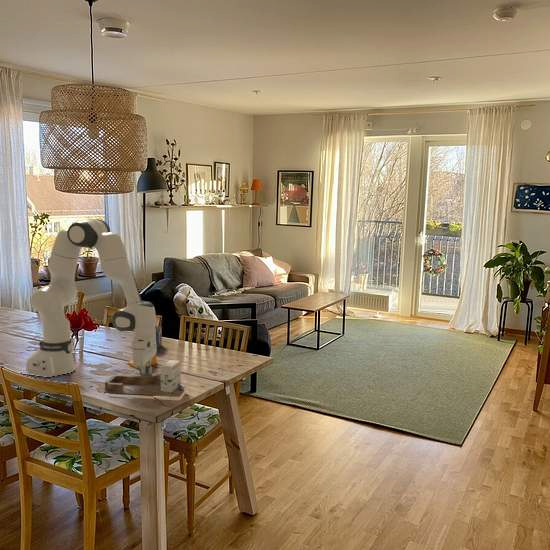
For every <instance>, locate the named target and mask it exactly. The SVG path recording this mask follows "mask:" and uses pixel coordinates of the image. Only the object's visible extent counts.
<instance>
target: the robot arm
mask: <svg viewBox="0 0 550 550" xmlns="http://www.w3.org/2000/svg"><path fill="white" fill-rule="evenodd" d="M124 245H125V244H124V243H123V240H122V238H121V236H120V234H118V233H116V232H111V228H110V225H109V224H108V223H107V222H106V221H105V220H102V219H99V218H97V219H93V218H88V219H84V220H77V221H75V222H73V223H71V225H70V226H69V227H68V228H63V229H60V230H59V232H58V233H57V234H56V238H55V239H54V243H53V246H52V248H51V249H52V250H51V252H50V258H49V261H48V266H47V270H48V272H49V275H50V282H49V284H48V285H45V286H42V287H40V288H39V289H38V290H37V289H36V291H35V292H33V293H32V295H31V298H30V303H31V306H32V307H33V309H34V310H35V311H36V312H37V313H38V315H39V317H40V321H41V325H42V340H41V341H39V343H37V347H39V349H38V350H36V351H34V353H32V354H31V355H30V356H28V357H27V359H26V364H25V367H26V370H25V371H24V373H25V372H26V371H28V372H27V373H29V374H34V375H39V376H46V377H51V378H53V377H52V376H55V377H58V376H57V375H61V376H63V375H62V374H66V375H68V374H67V373H69V374H72V373H73V371H74V370H75V368H76V366H75V364H74V360H73V354H72V353H73V343H72V342H73V341H72V338H71V322H70V320H69V319H68V318H67V317H66V314H65V312H64V311H65V310H64V308H65V307H67V306H69V305H70V304H72V303H73V302H74V301H75V300H76V298H77V297H78V289H77V286H76V282H75V281H76V279H75V277H76V272H77V271H76V270H77V267H78V262H79V258H80V253H81V250H82V248H87V249H88V248H89V249H93V248H95V250H96V251H97V253H98V257H99V263H100V267H101V271H102V273H103V275H104V276H105V277H106V278H107V279H108V280H111V281H113V282H116V283H117V284H119V285H120V287H121V288H122V290H123V295H124V297H125V301H126V306H125V307H123V308H120V309H118V310H117V311H115V312H114V313H113V315H112V318H111V319H112V320H111V322H112V325H113V327H114V329H116V331H119V332H130V331H131V332H132V331H133V332H134V333H133V334H134V337H133V339H132V342H131V345H130V346H131V349H132V361H133V365H134V367H133V368H135V367H140V368H141V373H143V374H145V373H146V368H145V366H146V363H147V362H149V366H151V365H150V364H151V358H152V357H153V356H154V355H155V356H156V355H157V351H158V350H157V347H156V330H155V326H156V323H157V315H156V308H155V306H154V304H153V303H152V302H151V301H146V300H142V296H141V294H140V291H139V288H138V283H137V281H136V278H135V275H134V273H133V271H132V269H131V267H130V264H129V260H128V255H127V252H126V248H125V246H124ZM140 368H139V369H140ZM75 371H76V370H75ZM75 371H74V372H75ZM21 372H23V371H21V370H20V373H21ZM71 372H72V373H71Z"/></svg>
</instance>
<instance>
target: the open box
mask: <svg viewBox="0 0 550 550" xmlns="http://www.w3.org/2000/svg"><path fill="white" fill-rule="evenodd" d="M124 384H137V385H139V384H140V385H155V386H161V376H154V377H151V376H138V375H132V374H131V375H129V374H113V375H112V376H111V377H109V378H108V379H107V380H106V381H105V383H104V389H105V390H107V391H104V392H103V394H105V393H109V394H108V395H121V396H122V395H125V396H126V395H127V396H144V397H148V396H149V397H154V396H155V394H144V393H142V394H141V393H129V392H128V393H126V392H125V393H123V392H124Z"/></svg>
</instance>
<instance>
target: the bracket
mask: <svg viewBox="0 0 550 550" xmlns="http://www.w3.org/2000/svg"><path fill="white" fill-rule="evenodd" d="M157 363H158V360H157V357H156V354H155V355H154V356H153V357H152V358H151V364H150V366H153V365H154V364H157ZM128 366H130V367H132V368H136V369H140V367H134V365H133V360H129V361H128Z"/></svg>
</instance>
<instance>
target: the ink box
mask: <svg viewBox="0 0 550 550" xmlns="http://www.w3.org/2000/svg"><path fill="white" fill-rule="evenodd" d="M159 367H160V377H161V385H160V392H165V393H167V392H168V393H172V392H174V391H175V390H176V389H178V388H179V387H181V360H176V359H175V360H174V359H173V360H172V359H169V360H168V361H166V362H164V363H163V364H161V365H160V366H159Z"/></svg>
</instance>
